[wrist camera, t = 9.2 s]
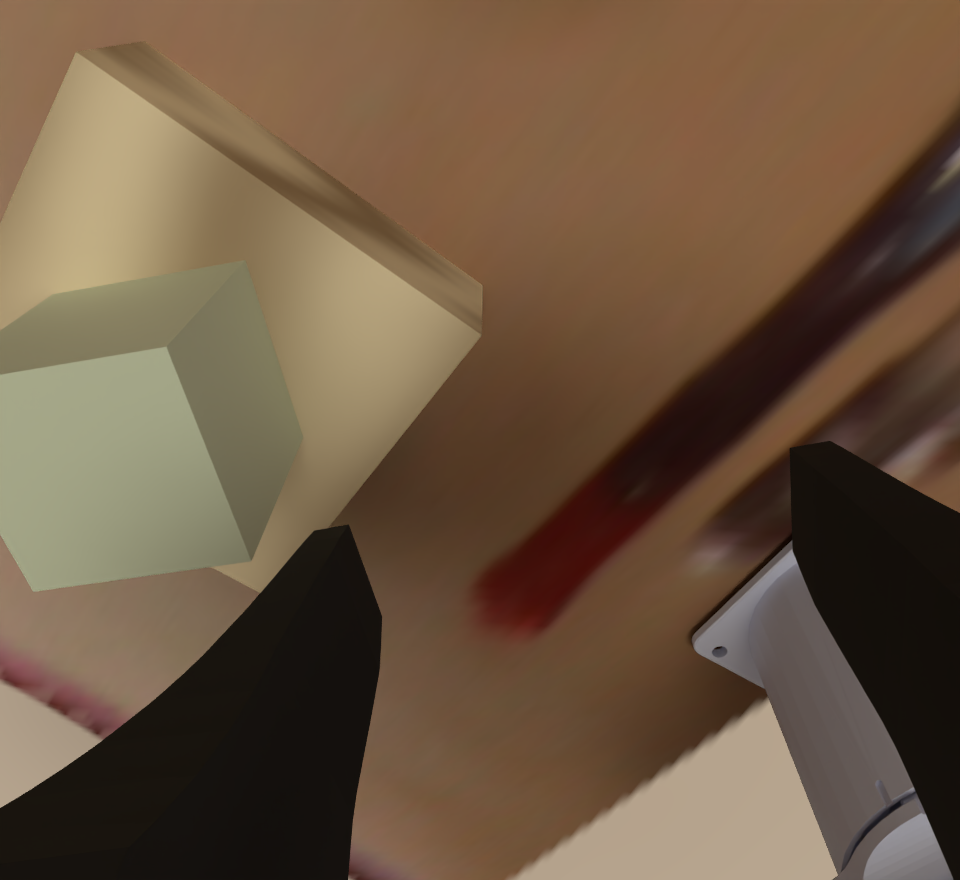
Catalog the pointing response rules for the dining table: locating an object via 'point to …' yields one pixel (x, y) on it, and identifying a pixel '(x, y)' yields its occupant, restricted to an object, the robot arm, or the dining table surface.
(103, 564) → the sage block
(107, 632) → the dining table surface
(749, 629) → the robot arm
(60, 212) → the bamboo box
